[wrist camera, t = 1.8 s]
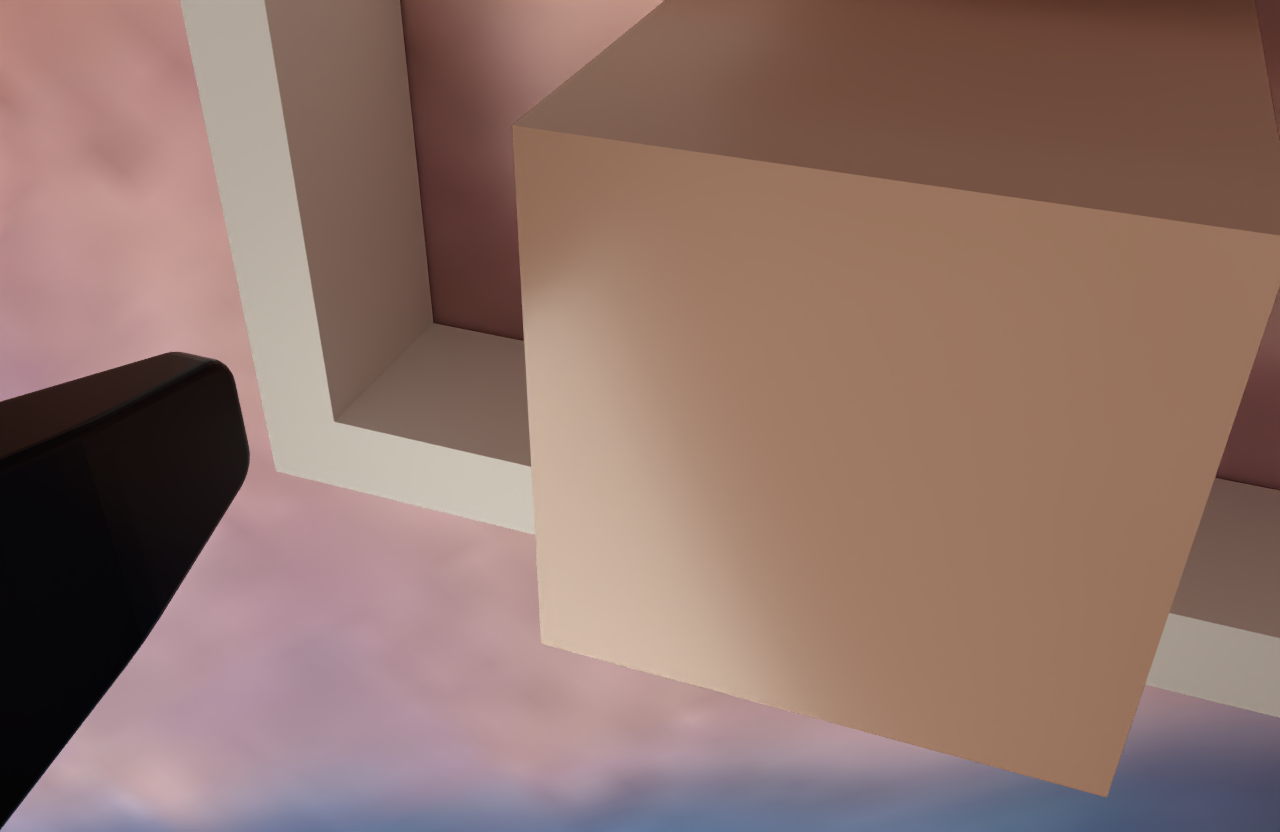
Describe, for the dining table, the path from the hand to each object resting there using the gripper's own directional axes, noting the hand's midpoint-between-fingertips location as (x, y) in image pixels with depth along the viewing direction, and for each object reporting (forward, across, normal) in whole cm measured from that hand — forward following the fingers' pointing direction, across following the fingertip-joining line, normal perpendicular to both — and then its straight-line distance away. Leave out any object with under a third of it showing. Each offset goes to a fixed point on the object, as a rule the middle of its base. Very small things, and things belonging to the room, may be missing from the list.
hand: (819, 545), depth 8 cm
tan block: (+6, 0, 0) cm, 7 cm away
